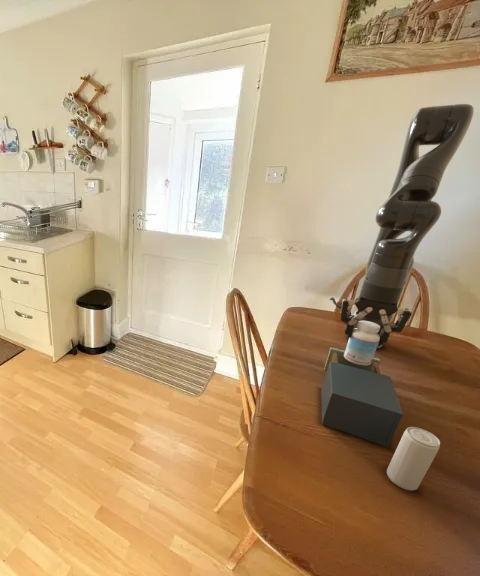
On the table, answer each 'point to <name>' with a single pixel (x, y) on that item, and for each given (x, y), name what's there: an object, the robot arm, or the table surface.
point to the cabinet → (360, 403)
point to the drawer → (338, 357)
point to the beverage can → (412, 458)
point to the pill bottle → (363, 343)
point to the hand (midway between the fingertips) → (363, 339)
